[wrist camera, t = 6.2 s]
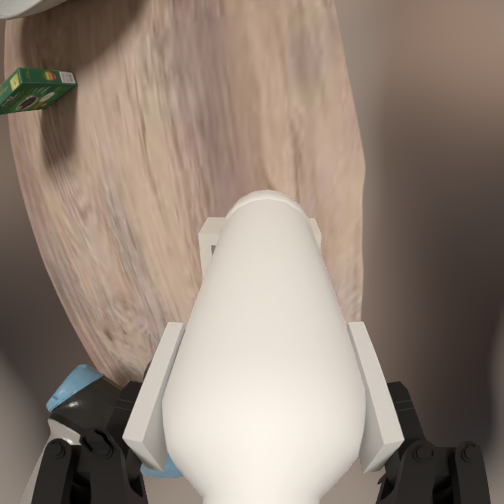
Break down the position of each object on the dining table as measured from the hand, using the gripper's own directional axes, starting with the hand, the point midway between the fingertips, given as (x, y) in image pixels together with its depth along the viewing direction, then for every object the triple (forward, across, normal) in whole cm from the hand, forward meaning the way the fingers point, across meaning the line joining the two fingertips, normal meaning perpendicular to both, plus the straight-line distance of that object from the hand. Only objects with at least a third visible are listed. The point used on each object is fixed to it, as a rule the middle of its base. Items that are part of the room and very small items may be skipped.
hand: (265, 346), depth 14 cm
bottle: (+15, 0, 0) cm, 15 cm away
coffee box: (+29, -32, +20) cm, 47 cm away
